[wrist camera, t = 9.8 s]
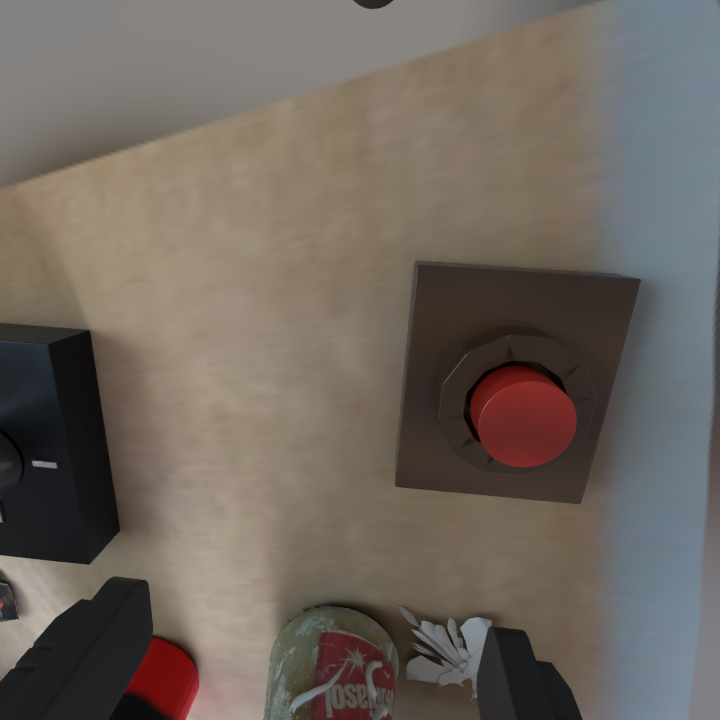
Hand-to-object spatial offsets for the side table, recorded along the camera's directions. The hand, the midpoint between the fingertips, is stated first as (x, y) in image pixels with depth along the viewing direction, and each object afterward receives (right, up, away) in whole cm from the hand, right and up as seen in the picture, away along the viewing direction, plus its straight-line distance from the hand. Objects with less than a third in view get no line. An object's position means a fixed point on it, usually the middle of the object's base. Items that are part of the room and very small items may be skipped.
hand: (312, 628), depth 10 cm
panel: (-20, +2, +16) cm, 26 cm away
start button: (+8, +4, +9) cm, 13 cm away
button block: (+9, +5, +13) cm, 16 cm away
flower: (+6, -13, +19) cm, 24 cm away
